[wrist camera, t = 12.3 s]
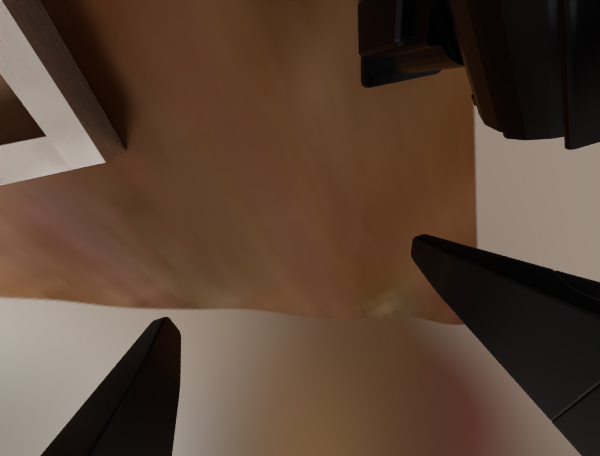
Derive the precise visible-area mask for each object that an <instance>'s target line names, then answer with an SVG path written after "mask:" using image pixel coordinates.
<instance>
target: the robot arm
mask: <svg viewBox="0 0 600 456" xmlns="http://www.w3.org/2000/svg"><path fill="white" fill-rule="evenodd" d="M358 33H359V54H360V55H361V83H362V85H363V87H365V88H370V87H375V86H380V85H385V84H390V83H394V82H399V81H404V80H409V79H414V78H418V77H423V76H428V75H433V74H437V73H439V72H440V71H441V69H450V68H458V67H465V69H466V72H467V75H468V79H469V82H470V85H471V89H472V92H473V94H472V96H471V97H472V100H473V103H474V105H476V106H477V109H478V112H479V115H480V117H481V119H482V120H483V122H484V124H485V125H487V126H489V127H491V128H493V129H495V130H497V131H499V132H503V135H504V137H505V138H507V139H517V140H538V139H553V138H559V137H564V138H565V139H564V140H565V148H566V149H569V150H570V149H577V148H580V147H584V146H587V145H591V144H594V143H597V142H600V0H360V2H359V4H358ZM368 76H370V78H371V80H370V82H369V83H368V82H367V78H368ZM411 257H412V259H413V261H414V262H415V263H416V265H417V266H418V267H419V269H420V270H421V272H422V273H423V274H424V276H425V277H426V278H427V280H428V281H429V283H430V284H431V285H432V287H433V288H434V289H435V291H436V292H437V293H438V294H439V295H440V297H441V298H442V299H443V300H444V301H445V302H446V303H447V305H448V306H449V307H450V308H451V309H452V310H453V311H454V312H455V314H456V315H457V316H458V317H459V318H460V319H461V320H462V321H463V323H464V324H465V325H466V326H467V327H468V328H469V329H470V330H471V331H472V333H473V334H474V335H475V336H476V337H477V338H478V339H479V341H480V342H481V343H482V344H483V345H484V346H485V347H486V348H487V350H488V351H489V352H490V353H491V354H492V355H493V356H494V357H495V358H496V360H497V361H498V362H499V363H500V364H501V365H502V366H503V367H504V368H505V370H506V371H507V372H508V373H509V374H510V375H511V377H512V378H514V380H515V381H516V382H517V383H518V384H519V386H521V388H522V389H523V390H524V391H525V392H526V393H527V395H529V397H530V398H531V399H532V400H533V401H534V402H535V403H536V405H537V406H538V407H539V408H540V409H541V410H542V411H543V413H544V414H545V415H546V416H547V417H548V418H549V419H550V420H551V421H552V423H553V424H554V425H555V426H556V427H557V429H559V431H560V432H561V433H562V434H563V435H564V436H565V438H566V439H567V440H568V441H569V442H570V443H571V444H572V445H573V447H574V448H575V449H576V450H577V451H578V452H579V453H580V454H581V456H600V282H597V281H593V280H589V279H586V278H582V277H578V276H574V275H571V274H567V273H564V272H560V271H554V270H552V269H549V268H546V267H542V266H538V265H535V264H531V263H527V262H524V261H520V260H517V259H513V258H510V257H506V256H502V255H499V254H495V253H492V252H488V251H484V250H480V249H477V248H474V247H470V246H466V245H463V244H459V243H456V242H452V241H448V240H445V239H441V238H438V237H434V236H430V235H427V234H422V235H419V236H416V237H414V238H413V242H412V249H411ZM180 373H181V334H180V331H179V330H178V329H177V327H176V326H175V325H174V323H173V322H172V321H171V320H170V318H168V317H163V318H160V319H157V320H154V321H153V322H152V323H151V324H150V325H149V326H148V327H147V328H146V330H145V331H144V332H143V333H142V334H141V336H140V337H139V338H138V340H136V342H135V343H134V344H133V345H132V347H131V348H130V349H129V350H128V351H127V353H126V354H125V355H124V356H123V357H122V359H121V360H120V361H119V362H118V363H117V364H116V366H115V367H114V368H113V369H112V370H111V372H110V373H109V374H108V375H107V376H106V378H105V379H104V380H103V381H102V383H101V384H100V385H99V386H98V387H97V389H96V390H95V391H94V392H93V393H92V394H91V396H90V397H89V398H88V399H87V400H86V402H85V403H84V404H83V405H82V407H81V408H80V409H79V410H78V411H77V413H76V414H75V415H74V416H73V418H72V419H71V420H70V421H69V422H68V423H67V425H66V426H65V427H64V428H63V429H62V431H61V432H60V433H59V434H58V435H57V437H56V438H55V439H54V440H53V441H52V443H51V444H50V445H49V446H48V447H47V448H46V450H45V451H44V452H43V453H42V455H41V456H172V450H173V441H174V433H175V425H176V416H177V408H178V401H179V391H180Z"/></svg>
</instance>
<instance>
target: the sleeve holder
mask: <svg viewBox="0 0 600 456" xmlns="http://www.w3.org/2000/svg"><path fill="white" fill-rule="evenodd" d="M0 74H1V75H2V76H3V78H4V79H5V81H6V82H7V83H8V85H9V86H10V87H11V89H12V90H13V91H14V93H15V94H16V95H17V97H18V98H19V99H20V101H21V102H22V104H23V105H24V106H25V108H26V109H27V110H28V112H29V113H30V114H31V116H32V117H33V118H34V120H35V121H36V122H37V124H38V125H39V127H40V128H41V129H42V131H43V132H44V133H45V135H46V136H42V137H37V138H32V139H27V140H21V141H16V142H11V143H6V144H1V145H0V185H5V184H9V183H14V182H18V181H23V180H27V179H32V178H36V177H41V176H46V175H50V174H55V173H59V172H64V171H68V170H73V169H77V168H82V167H86V166H91V165H96V164H100V163H105V162H107V161H109V160H111V159H113V158H114V157H116V156H118V155H120V154H122V153H124V152H126V149H125V147H124V146H123V144H122V142H121V140H120V139H119V137H118V135H117V133H116V132H115V130H114V128H113V126H112V125H111V123H110V121H109V119H108V118H107V116H106V114H105V112H104V111H103V109H102V107H101V105H100V104H99V102H98V100H97V99H96V97H95V95H94V93H93V92H92V90H91V88H90V86H89V85H88V83H87V81H86V79H85V78H84V76H83V74H82V72H81V71H80V69H79V67H78V65H77V64H76V62H75V60H74V58H73V57H72V55H71V53H70V51H69V50H68V48H67V46H66V45H65V43H64V41H63V39H62V38H61V36H60V34H59V32H58V31H57V29H56V27H55V25H54V24H53V22H52V20H51V18H50V17H49V15H48V13H47V11H46V10H45V8H44V6H43V4H42V3H41V1H40V0H0Z"/></svg>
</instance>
